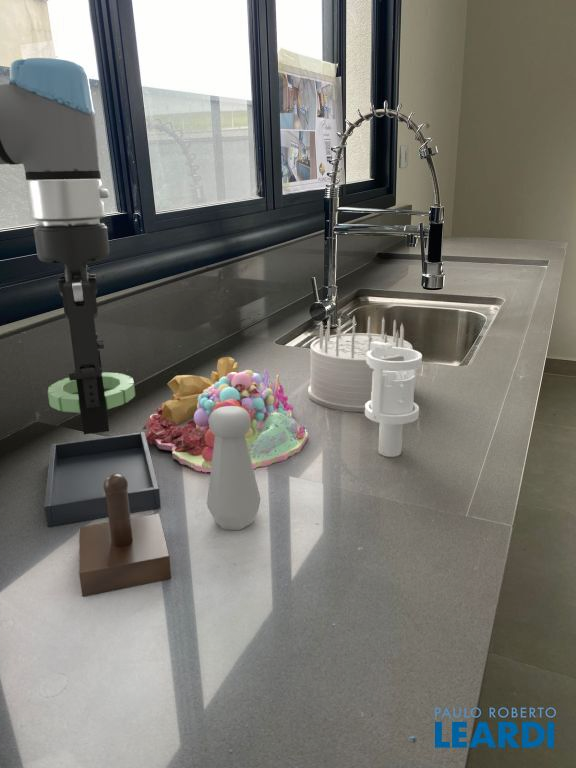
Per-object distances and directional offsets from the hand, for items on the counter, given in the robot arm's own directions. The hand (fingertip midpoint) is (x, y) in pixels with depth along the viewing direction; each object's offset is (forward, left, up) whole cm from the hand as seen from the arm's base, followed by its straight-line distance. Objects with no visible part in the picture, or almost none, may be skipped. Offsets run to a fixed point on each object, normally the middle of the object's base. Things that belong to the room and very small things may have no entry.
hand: (95, 415), depth 72 cm
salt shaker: (+13, -14, -9) cm, 21 cm away
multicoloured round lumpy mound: (+18, +10, -9) cm, 23 cm away
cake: (+43, +19, -9) cm, 48 cm away
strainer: (+37, -4, -9) cm, 39 cm away
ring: (0, 0, +2) cm, 2 cm away
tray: (0, 0, -9) cm, 9 cm away
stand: (+1, -18, -9) cm, 20 cm away
